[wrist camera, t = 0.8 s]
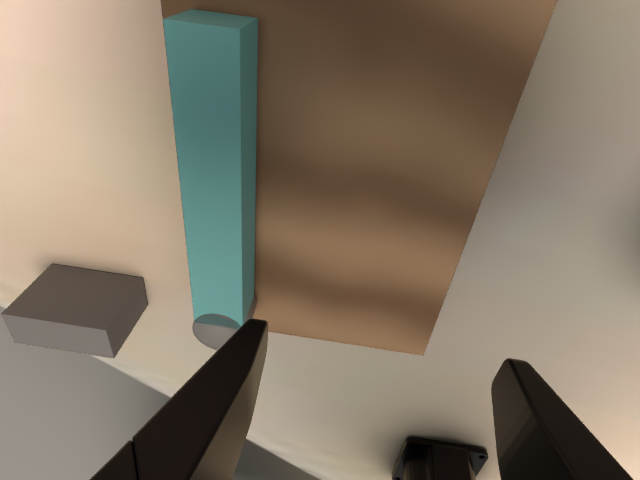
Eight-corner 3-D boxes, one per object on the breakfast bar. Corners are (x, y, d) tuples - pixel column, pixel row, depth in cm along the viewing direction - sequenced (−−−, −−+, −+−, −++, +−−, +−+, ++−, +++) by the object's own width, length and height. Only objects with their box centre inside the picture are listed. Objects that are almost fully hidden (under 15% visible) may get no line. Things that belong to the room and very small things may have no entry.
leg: (256, 320, 25) (245, 354, 23) (209, 313, 25) (194, 346, 23) (262, 18, 15) (244, 29, 13) (187, 8, 16) (158, 17, 13)
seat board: (420, 330, 27) (423, 355, 25) (205, 297, 27) (194, 319, 26) (553, -48, 15) (574, -46, 14) (174, -95, 16) (150, -99, 14)
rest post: (148, 304, 28) (114, 358, 25) (61, 291, 28) (14, 342, 25) (142, 277, 27) (105, 330, 23) (51, 263, 27) (1, 313, 23)
